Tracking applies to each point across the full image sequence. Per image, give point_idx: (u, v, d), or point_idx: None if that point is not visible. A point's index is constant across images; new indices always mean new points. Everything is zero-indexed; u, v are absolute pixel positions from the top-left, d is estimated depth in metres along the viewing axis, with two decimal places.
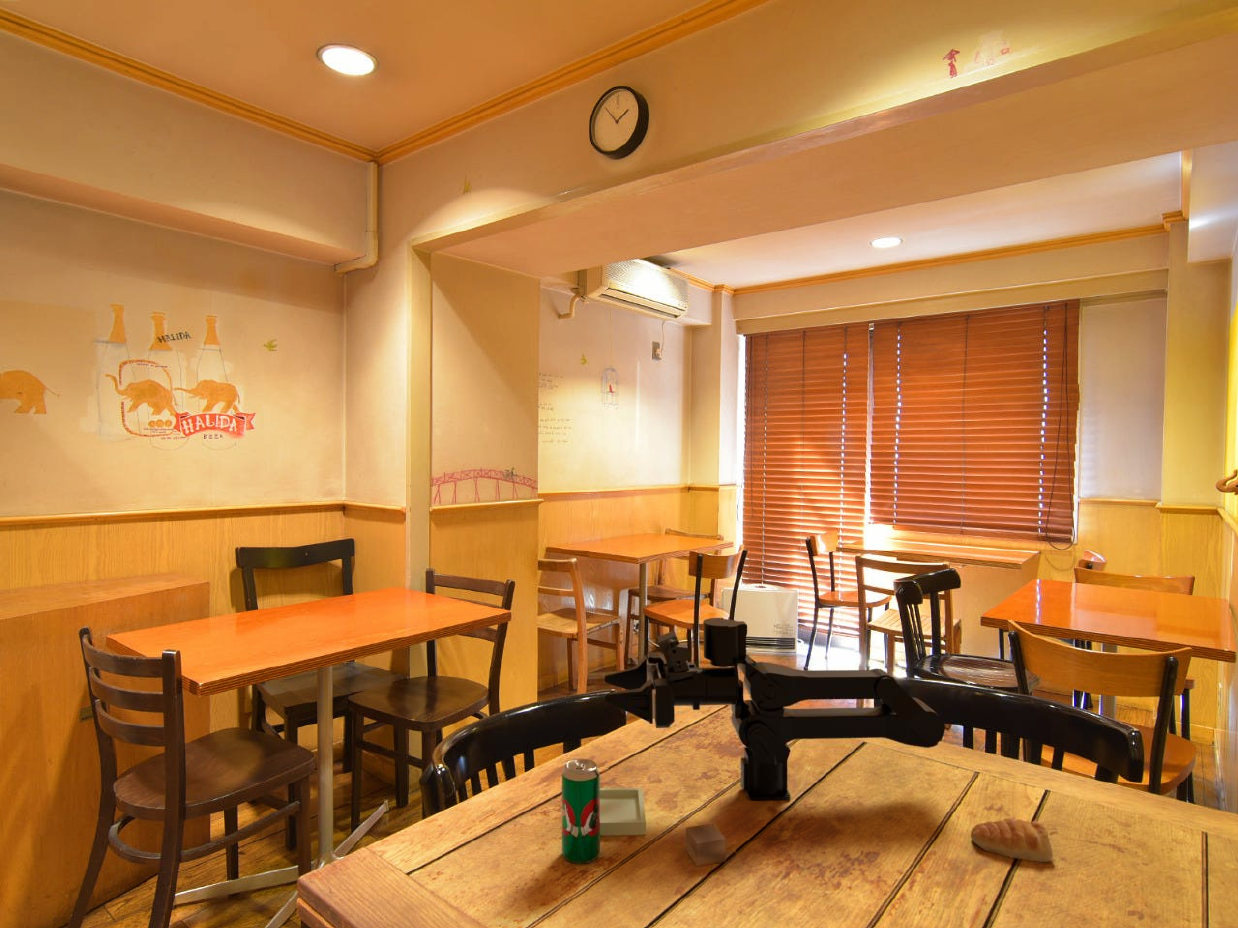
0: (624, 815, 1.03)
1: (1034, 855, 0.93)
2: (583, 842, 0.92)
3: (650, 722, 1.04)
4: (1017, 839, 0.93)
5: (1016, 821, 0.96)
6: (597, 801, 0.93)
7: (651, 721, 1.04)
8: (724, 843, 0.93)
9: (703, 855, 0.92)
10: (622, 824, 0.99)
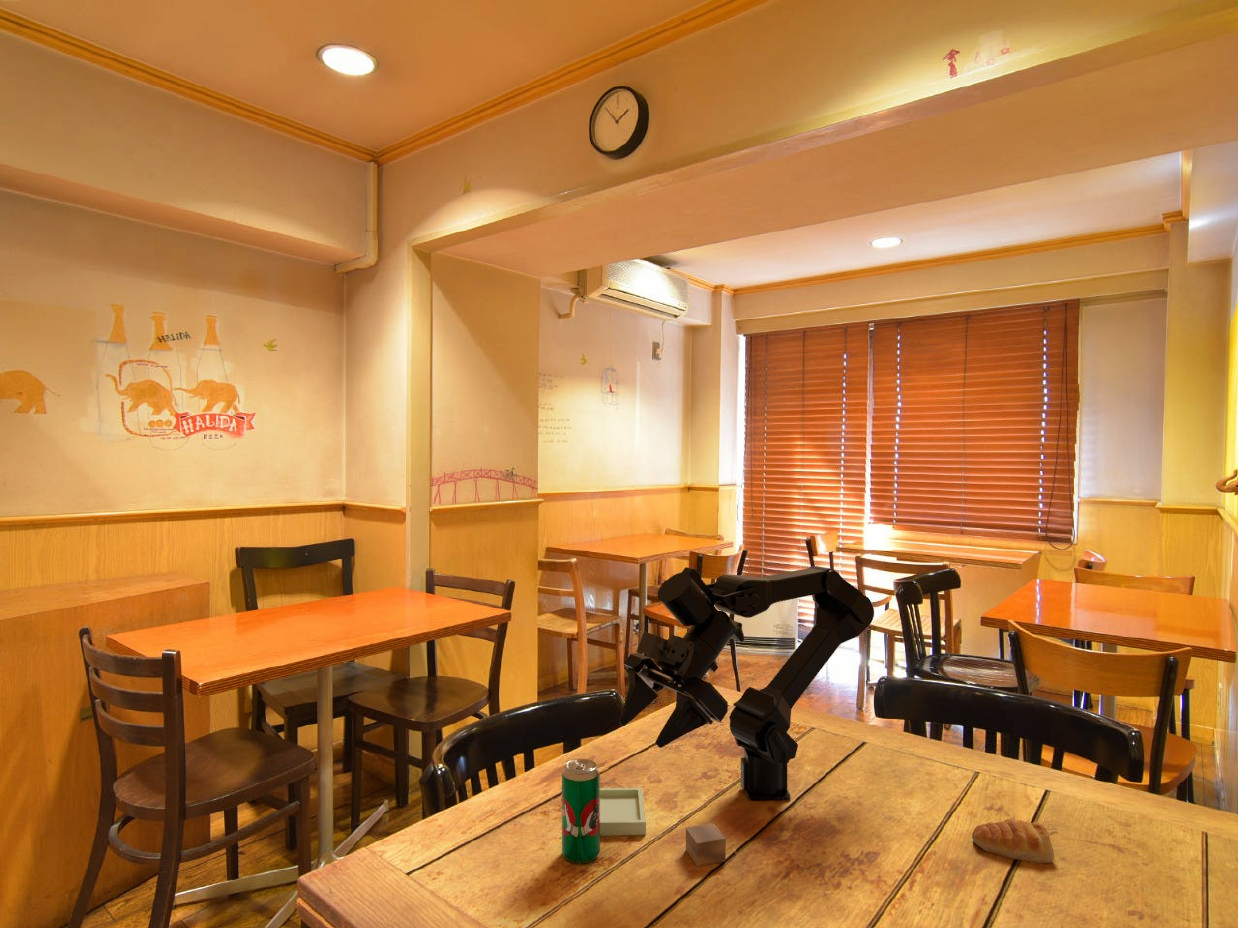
0: (624, 815, 1.03)
1: (1035, 856, 0.92)
2: (583, 842, 0.92)
3: (711, 723, 0.96)
4: (1018, 840, 0.93)
5: (1017, 822, 0.96)
6: (597, 801, 0.93)
7: (711, 721, 0.96)
8: (724, 843, 0.93)
9: (703, 855, 0.92)
10: (622, 824, 0.99)
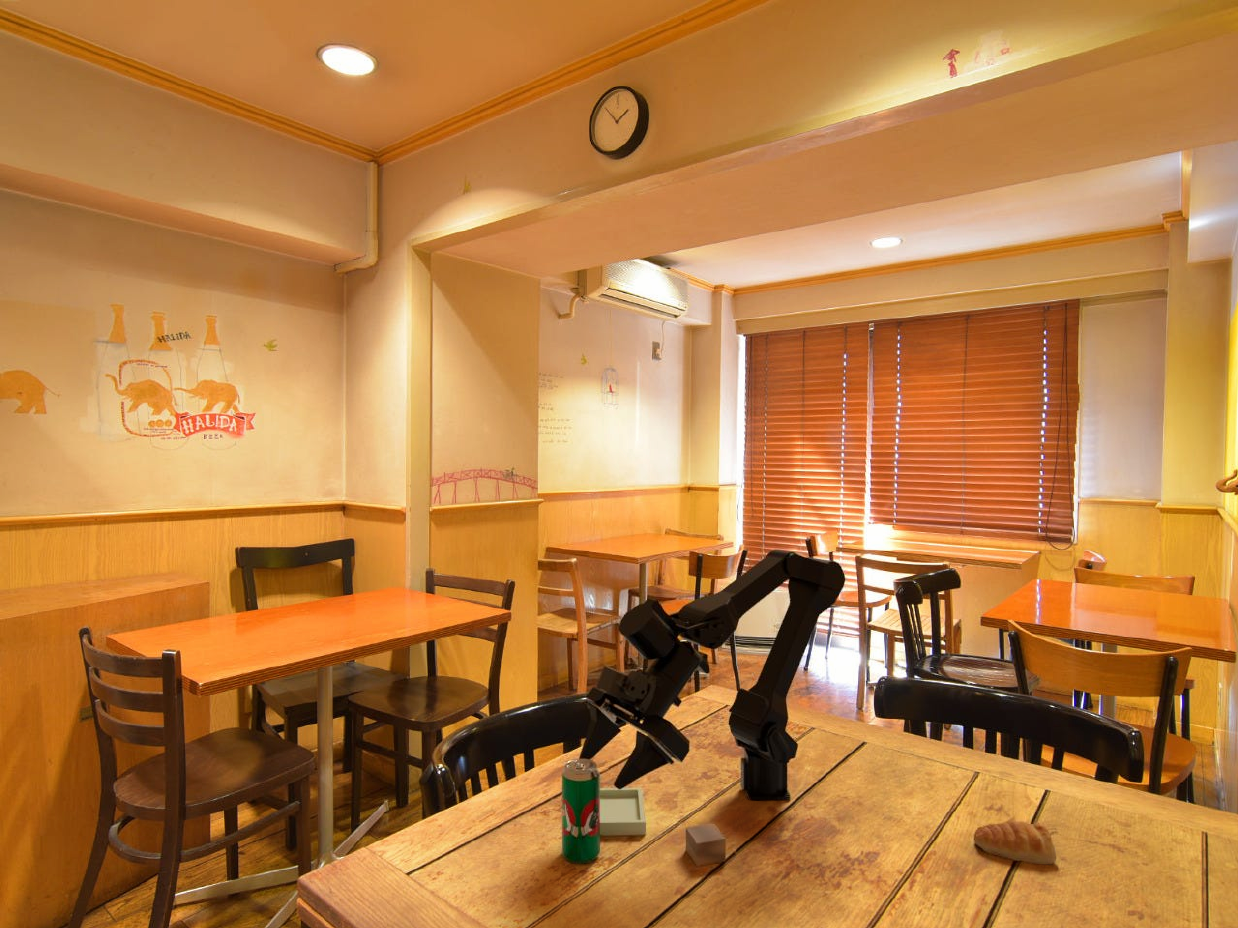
0: (624, 815, 1.03)
1: (1037, 857, 0.92)
2: (583, 842, 0.92)
3: (672, 763, 0.93)
4: (1020, 841, 0.93)
5: (1019, 823, 0.96)
6: (597, 801, 0.93)
7: (672, 761, 0.93)
8: (724, 843, 0.93)
9: (703, 855, 0.92)
10: (622, 824, 0.99)
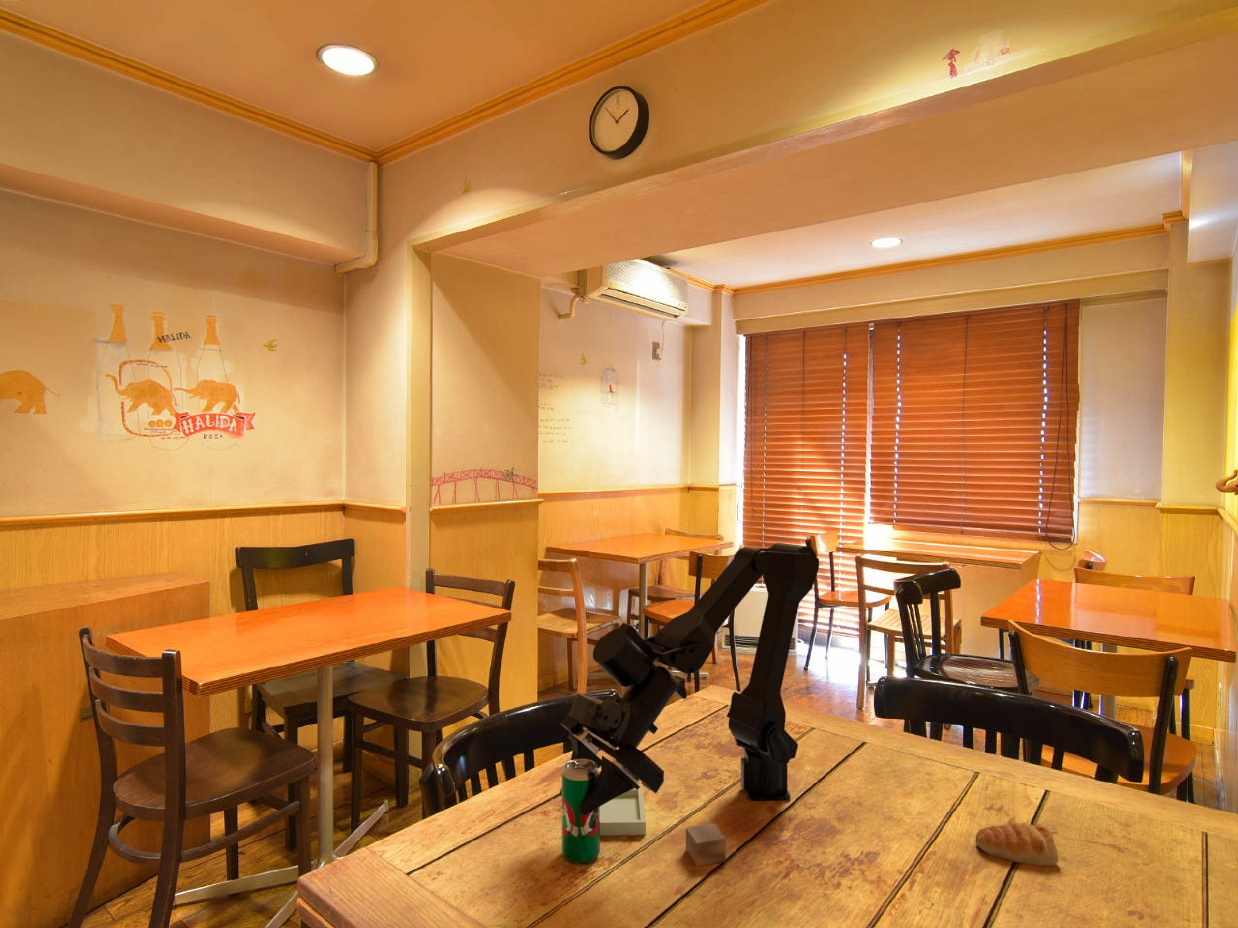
0: (624, 815, 1.03)
1: (1040, 859, 0.92)
2: (583, 842, 0.92)
3: (638, 788, 0.92)
4: (1023, 843, 0.92)
5: (1020, 825, 0.95)
6: None
7: (638, 786, 0.92)
8: (724, 843, 0.93)
9: (703, 855, 0.92)
10: (622, 824, 0.99)
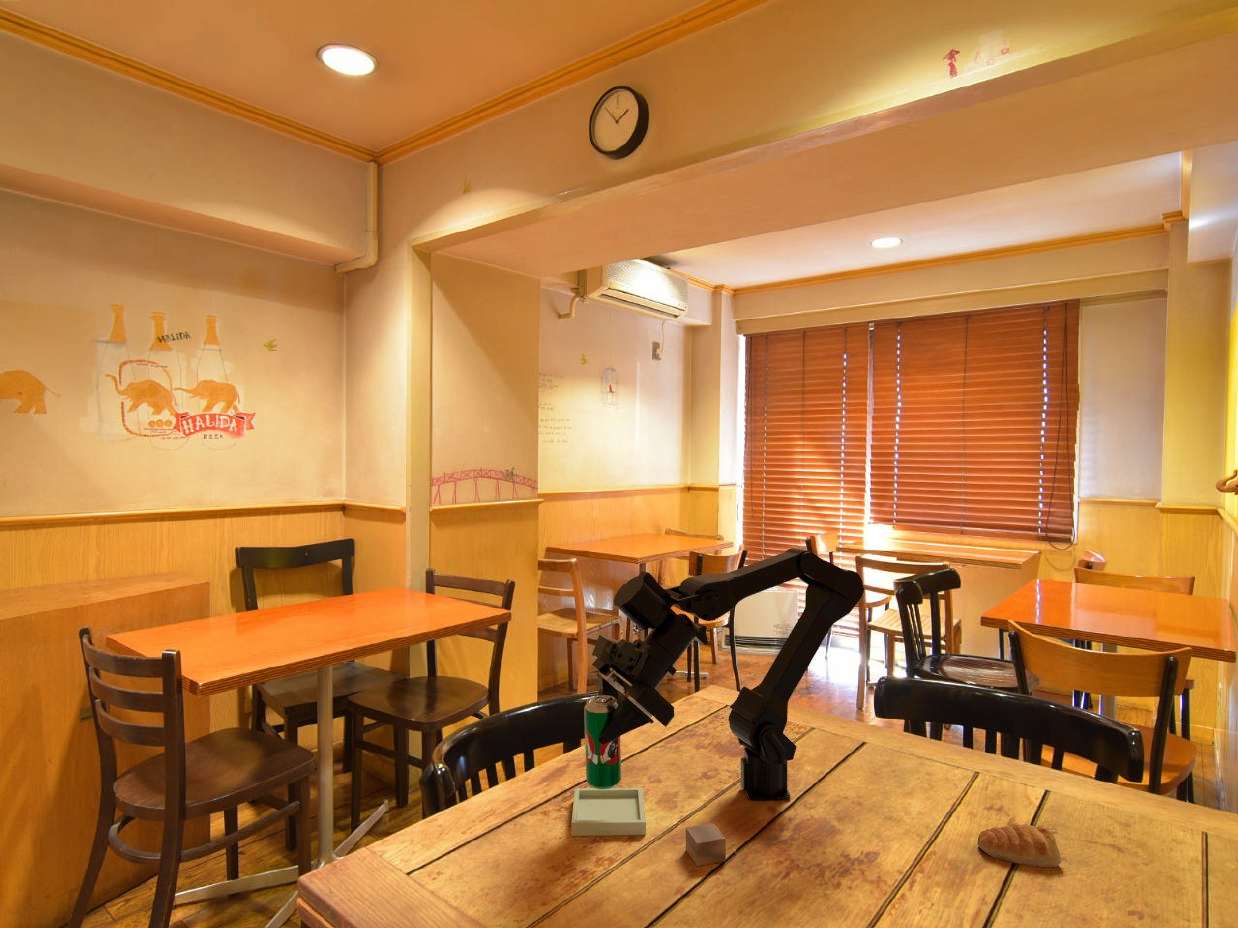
0: (624, 815, 1.03)
1: (1042, 861, 0.91)
2: (602, 769, 1.00)
3: (651, 722, 0.98)
4: (1025, 845, 0.92)
5: (1022, 826, 0.95)
6: None
7: (652, 721, 0.98)
8: (724, 843, 0.93)
9: (703, 855, 0.92)
10: (622, 824, 0.99)
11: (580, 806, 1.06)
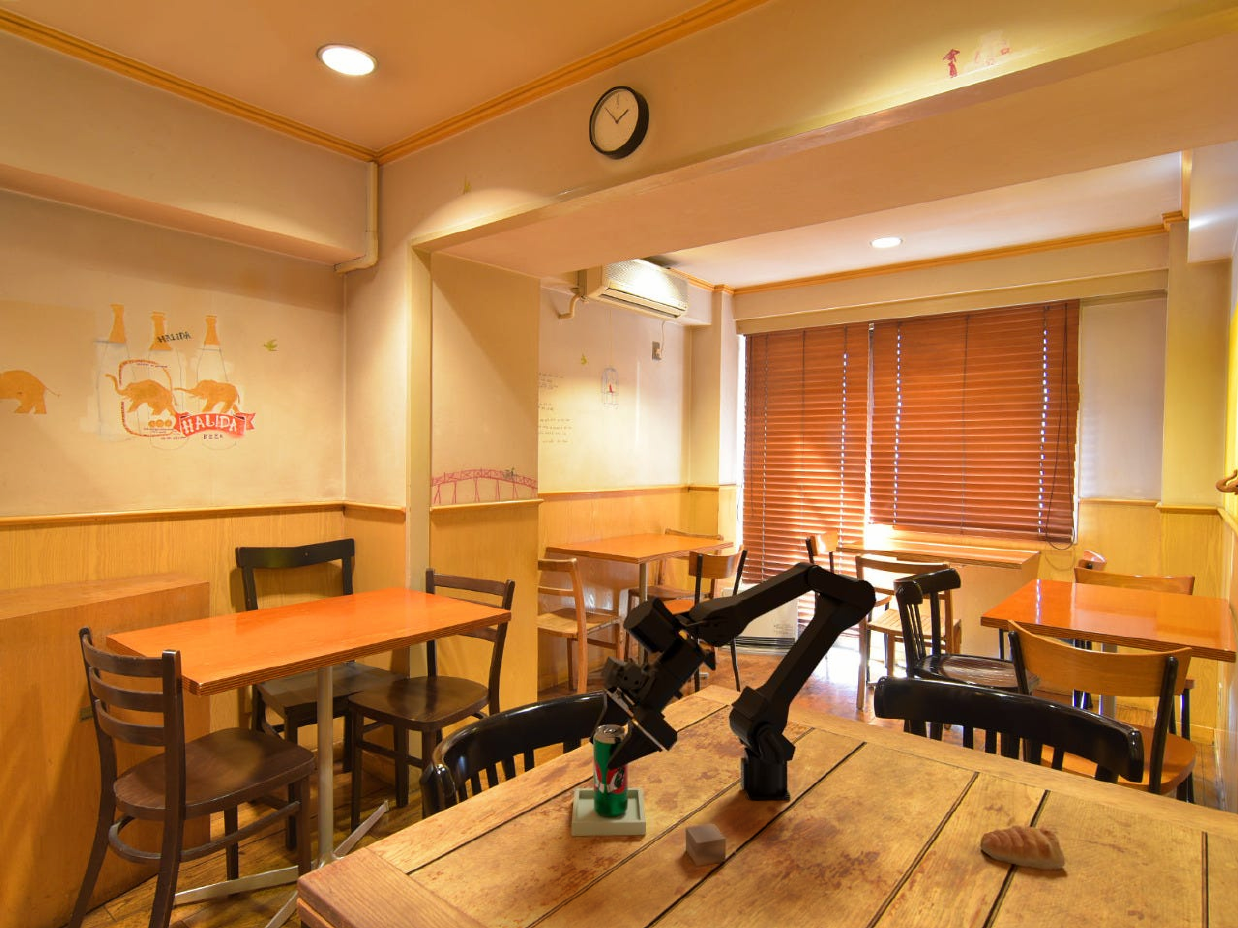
0: (624, 815, 1.03)
1: (1046, 863, 0.91)
2: (609, 798, 1.02)
3: (660, 751, 0.98)
4: (1029, 847, 0.91)
5: (1025, 828, 0.94)
6: None
7: (660, 749, 0.98)
8: (724, 843, 0.93)
9: (703, 855, 0.92)
10: (622, 824, 0.99)
11: (580, 806, 1.06)
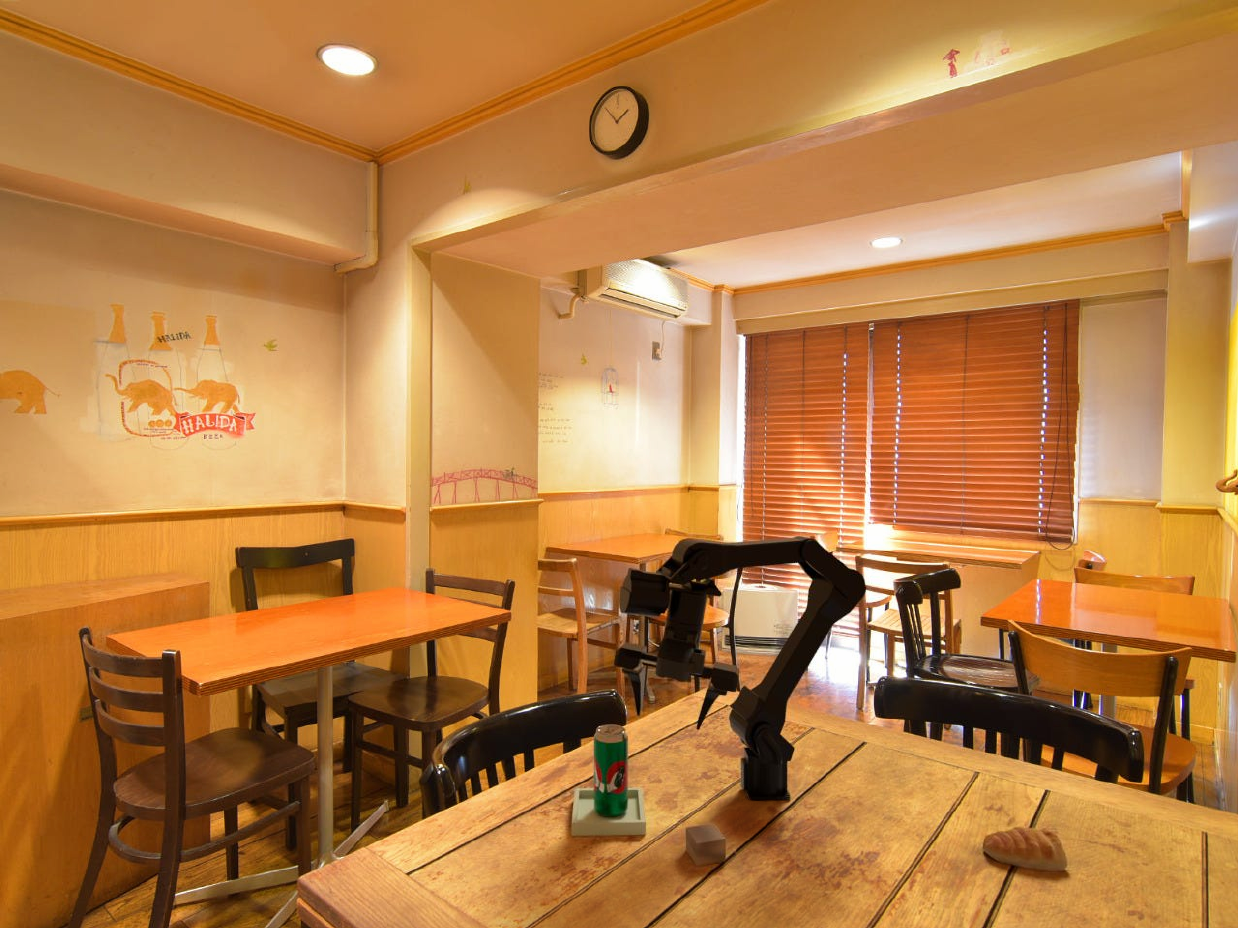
0: (624, 815, 1.03)
1: (1049, 865, 0.90)
2: (609, 798, 1.02)
3: None
4: (1032, 849, 0.91)
5: (1028, 830, 0.94)
6: (623, 763, 1.03)
7: None
8: (724, 843, 0.93)
9: (703, 855, 0.92)
10: (622, 824, 0.99)
11: (580, 806, 1.06)
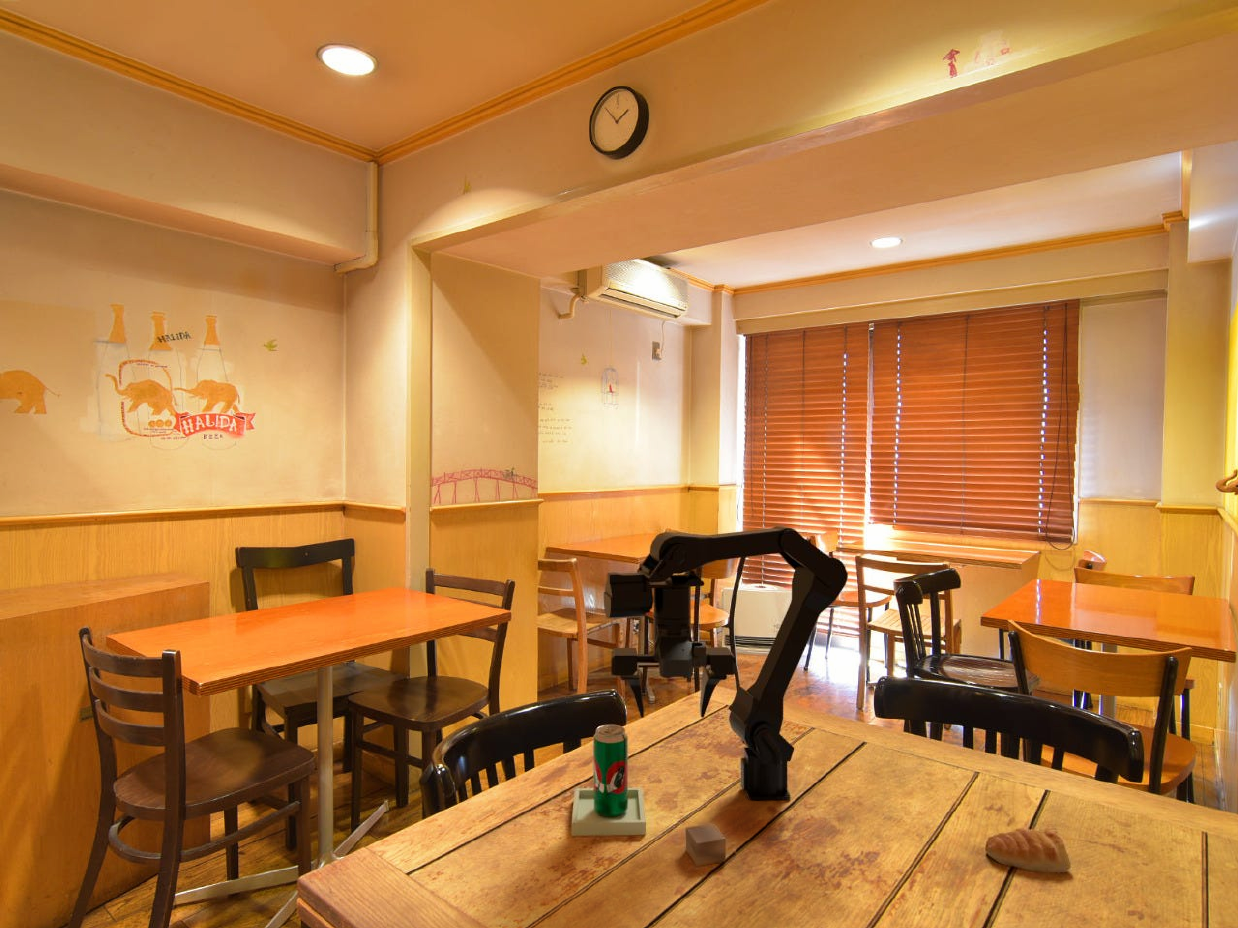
0: (624, 815, 1.03)
1: (1052, 866, 0.90)
2: (608, 798, 1.02)
3: None
4: (1035, 851, 0.91)
5: (1030, 831, 0.94)
6: (623, 763, 1.03)
7: None
8: (724, 843, 0.93)
9: (703, 855, 0.92)
10: (622, 824, 0.99)
11: (580, 806, 1.06)
